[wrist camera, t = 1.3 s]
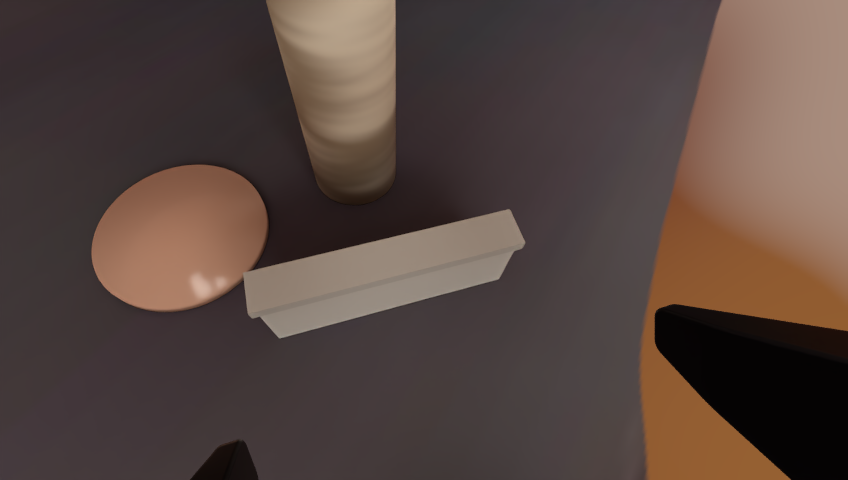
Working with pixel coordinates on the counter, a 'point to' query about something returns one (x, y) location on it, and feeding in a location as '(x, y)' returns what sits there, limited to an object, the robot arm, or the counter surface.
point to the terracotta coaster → (180, 238)
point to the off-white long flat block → (381, 274)
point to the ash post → (343, 90)
